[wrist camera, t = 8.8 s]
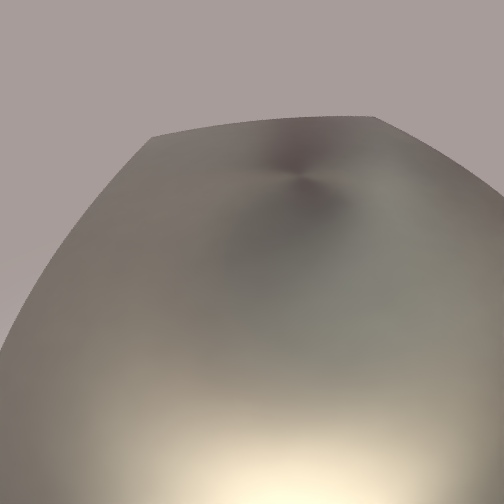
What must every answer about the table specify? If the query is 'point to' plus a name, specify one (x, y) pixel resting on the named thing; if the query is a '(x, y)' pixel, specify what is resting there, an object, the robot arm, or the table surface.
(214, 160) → the bin
